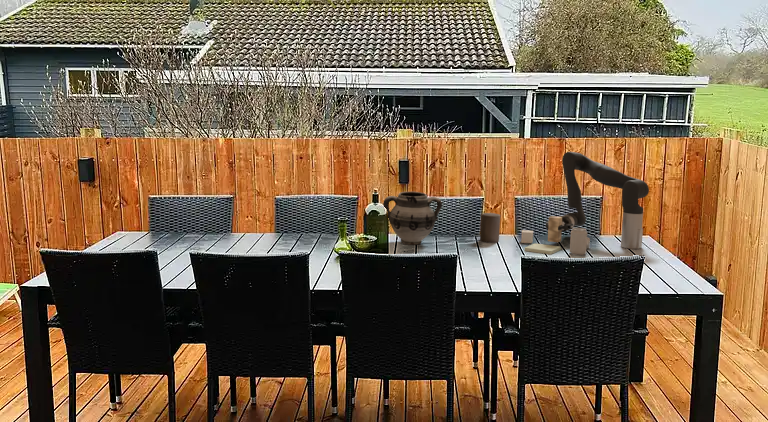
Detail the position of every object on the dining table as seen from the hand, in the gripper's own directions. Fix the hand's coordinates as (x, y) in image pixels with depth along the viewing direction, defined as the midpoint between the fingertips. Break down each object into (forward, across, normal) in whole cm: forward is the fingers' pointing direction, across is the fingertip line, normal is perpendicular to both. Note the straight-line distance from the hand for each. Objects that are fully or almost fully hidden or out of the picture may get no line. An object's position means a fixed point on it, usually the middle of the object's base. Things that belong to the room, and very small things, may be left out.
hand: (553, 227), depth 337 cm
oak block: (-3, 0, +7) cm, 8 cm away
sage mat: (+12, 0, +9) cm, 15 cm away
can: (+9, +16, +10) cm, 21 cm away
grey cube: (-3, -14, +9) cm, 17 cm away
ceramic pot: (+37, -58, +9) cm, 70 cm away
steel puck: (-5, +14, +9) cm, 17 cm away
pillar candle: (+7, -30, +9) cm, 33 cm away
